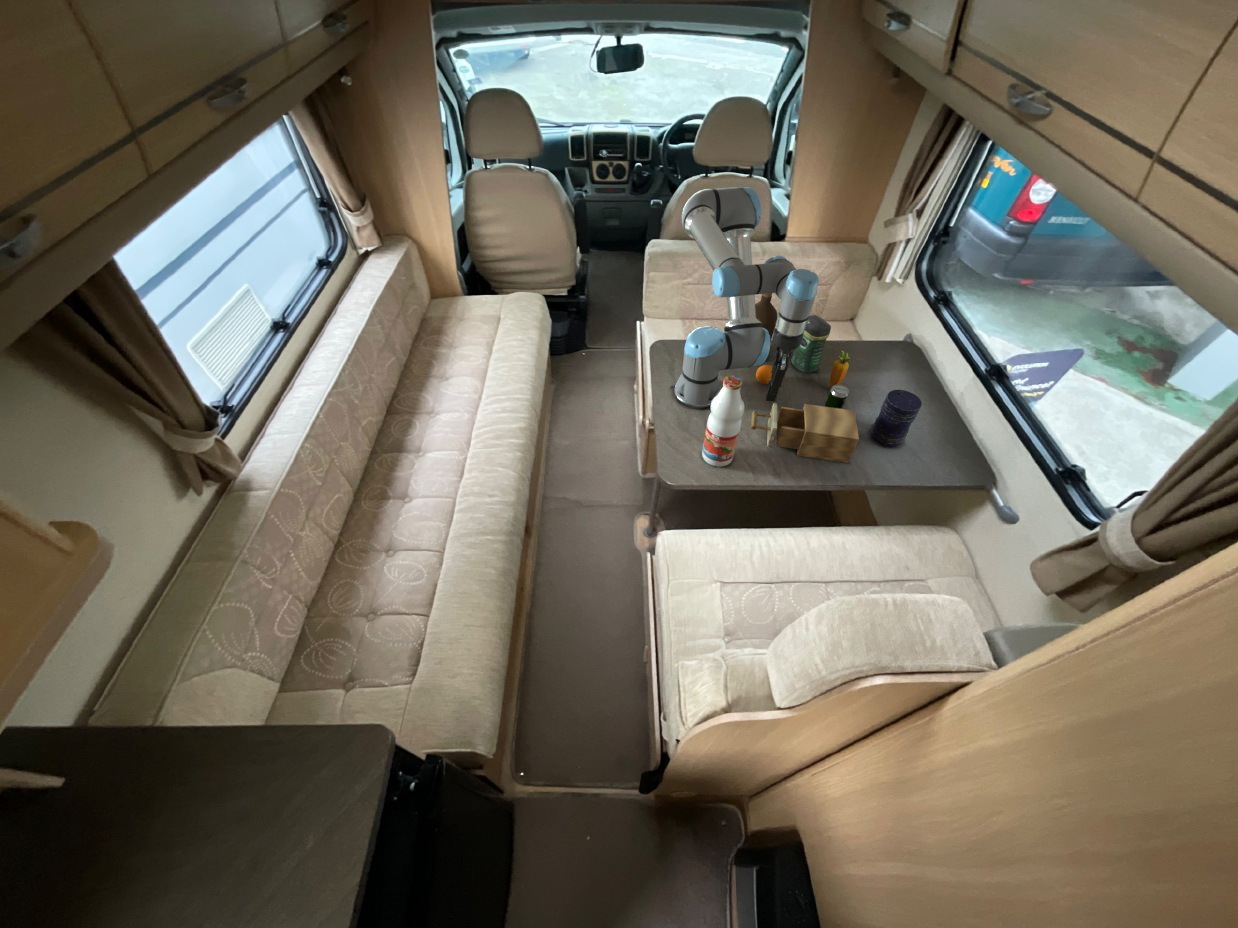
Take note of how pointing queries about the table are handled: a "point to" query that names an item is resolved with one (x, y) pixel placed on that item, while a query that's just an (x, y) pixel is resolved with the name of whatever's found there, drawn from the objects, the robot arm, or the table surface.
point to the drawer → (783, 426)
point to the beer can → (837, 397)
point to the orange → (764, 374)
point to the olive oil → (766, 313)
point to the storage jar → (895, 418)
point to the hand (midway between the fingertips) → (770, 400)
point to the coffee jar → (811, 345)
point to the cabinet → (828, 433)
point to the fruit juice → (724, 424)
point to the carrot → (839, 370)
